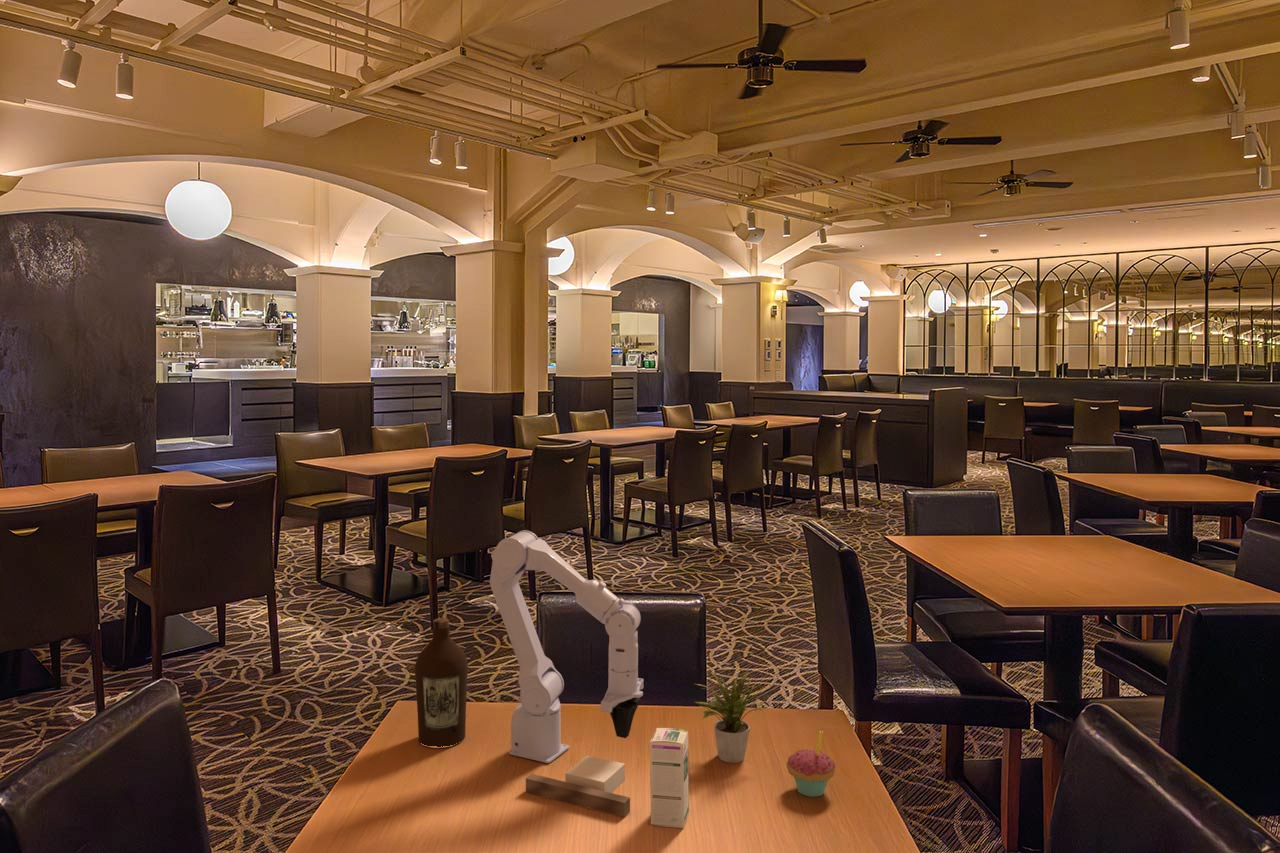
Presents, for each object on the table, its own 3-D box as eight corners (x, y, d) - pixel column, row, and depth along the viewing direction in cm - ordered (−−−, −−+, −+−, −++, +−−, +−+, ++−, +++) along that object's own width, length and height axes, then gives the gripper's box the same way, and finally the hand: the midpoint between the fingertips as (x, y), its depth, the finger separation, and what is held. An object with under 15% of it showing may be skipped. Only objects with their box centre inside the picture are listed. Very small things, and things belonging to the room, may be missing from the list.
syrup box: (684, 829, 137) (684, 743, 136) (649, 825, 138) (649, 740, 137) (689, 811, 142) (689, 729, 142) (655, 808, 143) (655, 726, 143)
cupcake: (836, 784, 152) (837, 720, 152) (832, 806, 144) (832, 738, 144) (790, 776, 155) (790, 713, 155) (782, 798, 147) (783, 731, 147)
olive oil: (416, 731, 175) (415, 614, 174) (467, 726, 178) (466, 611, 176) (414, 752, 165) (413, 629, 164) (468, 747, 167) (467, 625, 166)
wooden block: (565, 791, 150) (565, 773, 150) (587, 773, 157) (587, 755, 157) (604, 801, 146) (604, 782, 146) (625, 782, 154) (625, 763, 153)
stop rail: (525, 791, 149) (525, 778, 149) (531, 787, 151) (531, 773, 151) (624, 817, 140) (624, 802, 140) (629, 811, 142) (630, 797, 142)
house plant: (711, 733, 174) (711, 657, 173) (775, 746, 168) (775, 667, 167) (685, 761, 161) (685, 679, 161) (753, 776, 155) (753, 690, 155)
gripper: (624, 682, 153) (624, 754, 153) (657, 659, 166) (656, 726, 166) (591, 676, 156) (590, 747, 156) (626, 654, 169) (625, 719, 169)
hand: (622, 736), depth 162 cm, fingers closed
